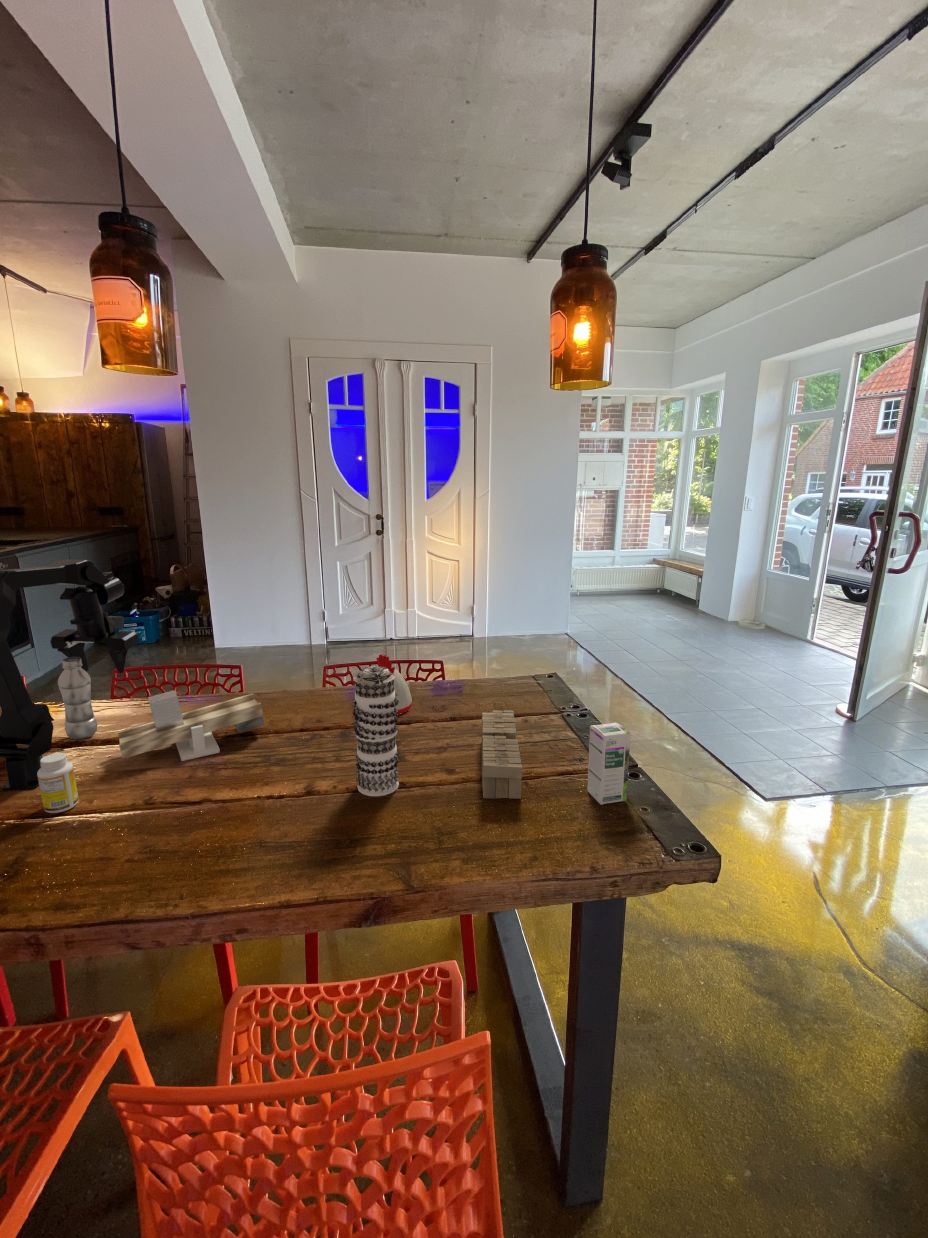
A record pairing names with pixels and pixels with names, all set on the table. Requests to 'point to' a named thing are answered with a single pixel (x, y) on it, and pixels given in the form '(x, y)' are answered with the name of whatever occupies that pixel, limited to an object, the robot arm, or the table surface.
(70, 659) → the silver metal bottle
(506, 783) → the block tower
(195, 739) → the beam stand
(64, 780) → the supplement bottle
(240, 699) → the balance beam
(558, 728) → the table surface
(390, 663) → the kitchen timer
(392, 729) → the white patterned cylinder
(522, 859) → the table surface
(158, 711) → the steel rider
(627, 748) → the syrup box
